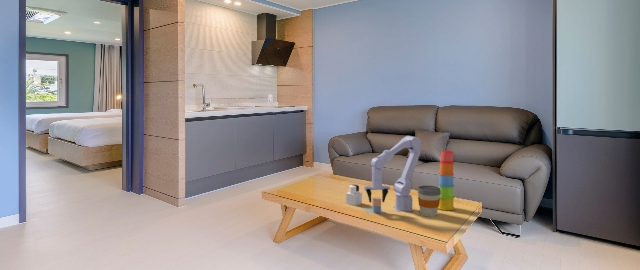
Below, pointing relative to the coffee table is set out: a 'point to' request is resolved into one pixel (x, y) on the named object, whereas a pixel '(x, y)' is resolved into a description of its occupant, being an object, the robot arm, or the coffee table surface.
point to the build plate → (369, 210)
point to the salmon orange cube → (376, 201)
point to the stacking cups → (446, 181)
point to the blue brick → (376, 209)
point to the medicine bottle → (354, 195)
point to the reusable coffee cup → (429, 200)
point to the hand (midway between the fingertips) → (376, 202)
